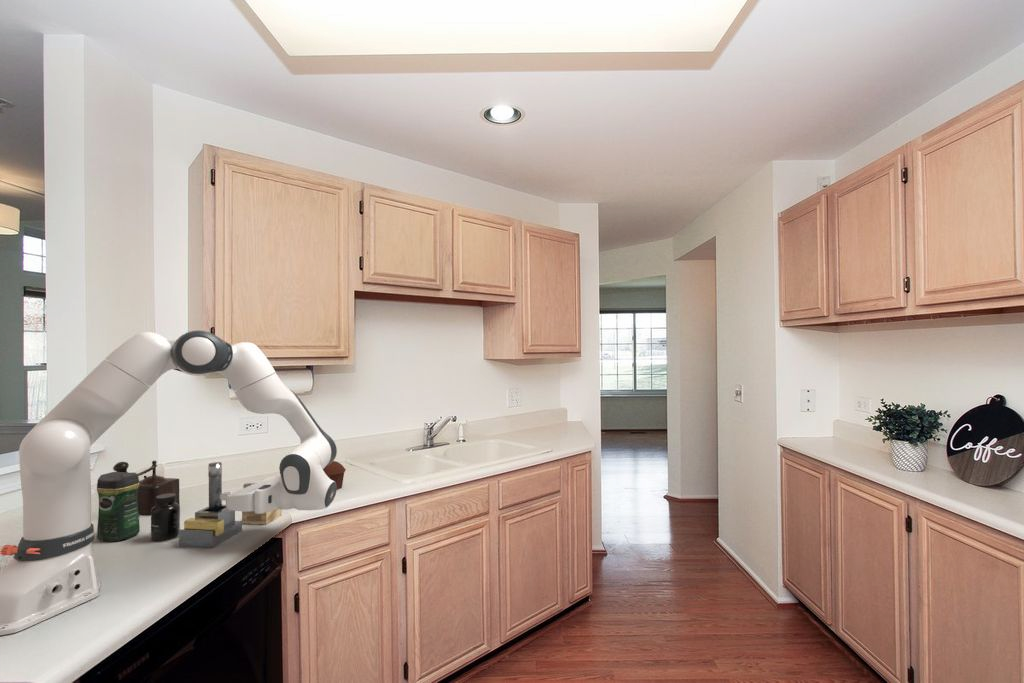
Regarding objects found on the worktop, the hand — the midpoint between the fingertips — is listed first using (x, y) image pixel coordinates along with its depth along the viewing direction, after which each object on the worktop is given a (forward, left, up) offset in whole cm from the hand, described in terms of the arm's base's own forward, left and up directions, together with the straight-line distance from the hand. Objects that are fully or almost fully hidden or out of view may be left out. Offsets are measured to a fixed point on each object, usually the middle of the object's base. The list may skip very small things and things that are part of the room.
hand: (233, 491), depth 140 cm
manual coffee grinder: (+17, +44, -14) cm, 49 cm away
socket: (-1, +6, -13) cm, 15 cm away
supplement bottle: (-2, +20, -14) cm, 24 cm away
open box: (+14, +1, -13) cm, 19 cm away
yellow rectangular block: (-6, +5, -10) cm, 13 cm away
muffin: (+48, -4, -14) cm, 50 cm away
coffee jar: (-3, +34, -14) cm, 37 cm away
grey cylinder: (0, +6, -10) cm, 12 cm away
